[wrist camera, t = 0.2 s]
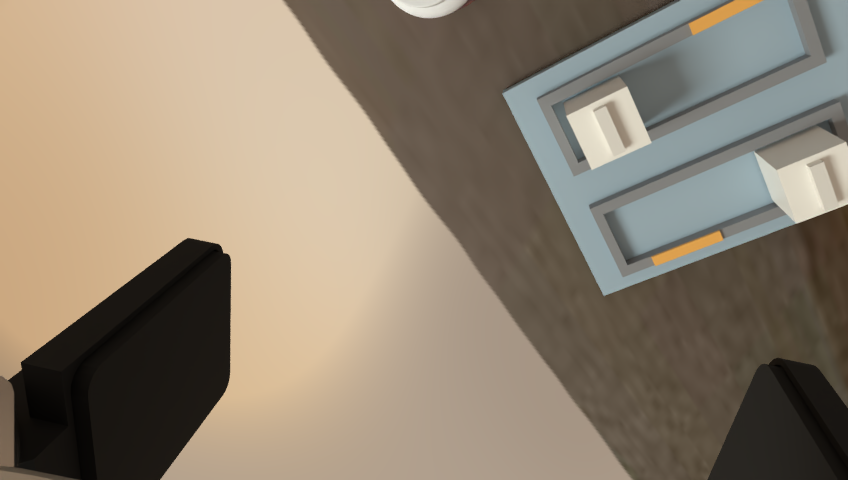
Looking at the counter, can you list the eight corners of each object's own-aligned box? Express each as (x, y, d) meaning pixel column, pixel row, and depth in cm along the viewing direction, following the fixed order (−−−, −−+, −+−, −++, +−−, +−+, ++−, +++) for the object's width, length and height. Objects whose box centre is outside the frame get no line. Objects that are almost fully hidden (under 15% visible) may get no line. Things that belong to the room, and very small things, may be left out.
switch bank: (503, 90, 44) (501, 96, 42) (827, -80, 37) (845, -83, 35) (602, 288, 49) (605, 302, 47) (905, 173, 42) (924, 183, 40)
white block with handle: (563, 102, 43) (566, 118, 38) (618, 74, 41) (628, 87, 37) (586, 151, 44) (592, 172, 39) (640, 126, 43) (653, 145, 38)
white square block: (753, 151, 42) (780, 173, 37) (815, 124, 41) (850, 144, 36) (772, 200, 43) (800, 227, 39) (833, 176, 42) (869, 201, 37)
